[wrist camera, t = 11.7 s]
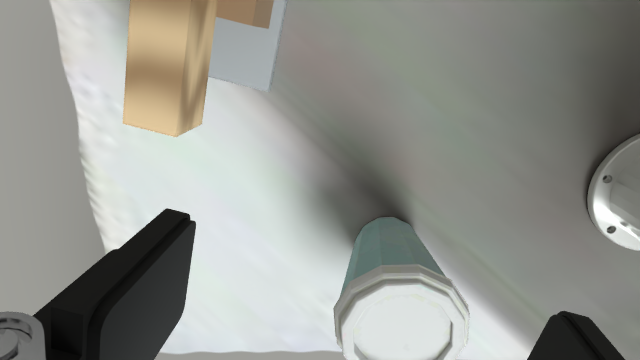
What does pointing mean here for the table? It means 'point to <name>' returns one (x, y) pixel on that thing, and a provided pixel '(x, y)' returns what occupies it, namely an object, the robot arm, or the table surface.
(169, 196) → the table surface
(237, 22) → the stand
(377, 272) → the disposable coffee cup
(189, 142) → the table surface
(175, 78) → the oak bar
